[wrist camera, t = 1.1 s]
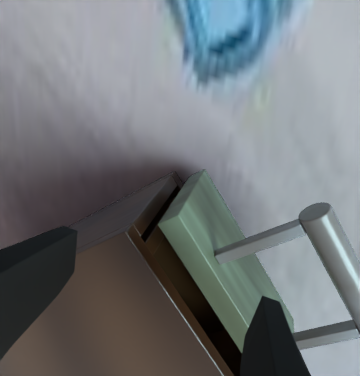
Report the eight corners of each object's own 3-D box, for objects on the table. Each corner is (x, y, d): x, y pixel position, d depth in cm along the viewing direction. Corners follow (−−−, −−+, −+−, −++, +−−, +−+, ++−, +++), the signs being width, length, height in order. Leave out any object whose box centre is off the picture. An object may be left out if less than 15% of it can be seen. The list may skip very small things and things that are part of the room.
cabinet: (174, 170, 21) (124, 231, 14) (268, 322, 24) (266, 439, 17) (29, 247, 28) (-57, 316, 20) (116, 360, 30) (67, 456, 23)
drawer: (294, 123, 17) (305, 157, 12) (381, 297, 20) (425, 393, 14) (51, 245, 26) (-11, 300, 20) (135, 357, 28) (101, 433, 22)
